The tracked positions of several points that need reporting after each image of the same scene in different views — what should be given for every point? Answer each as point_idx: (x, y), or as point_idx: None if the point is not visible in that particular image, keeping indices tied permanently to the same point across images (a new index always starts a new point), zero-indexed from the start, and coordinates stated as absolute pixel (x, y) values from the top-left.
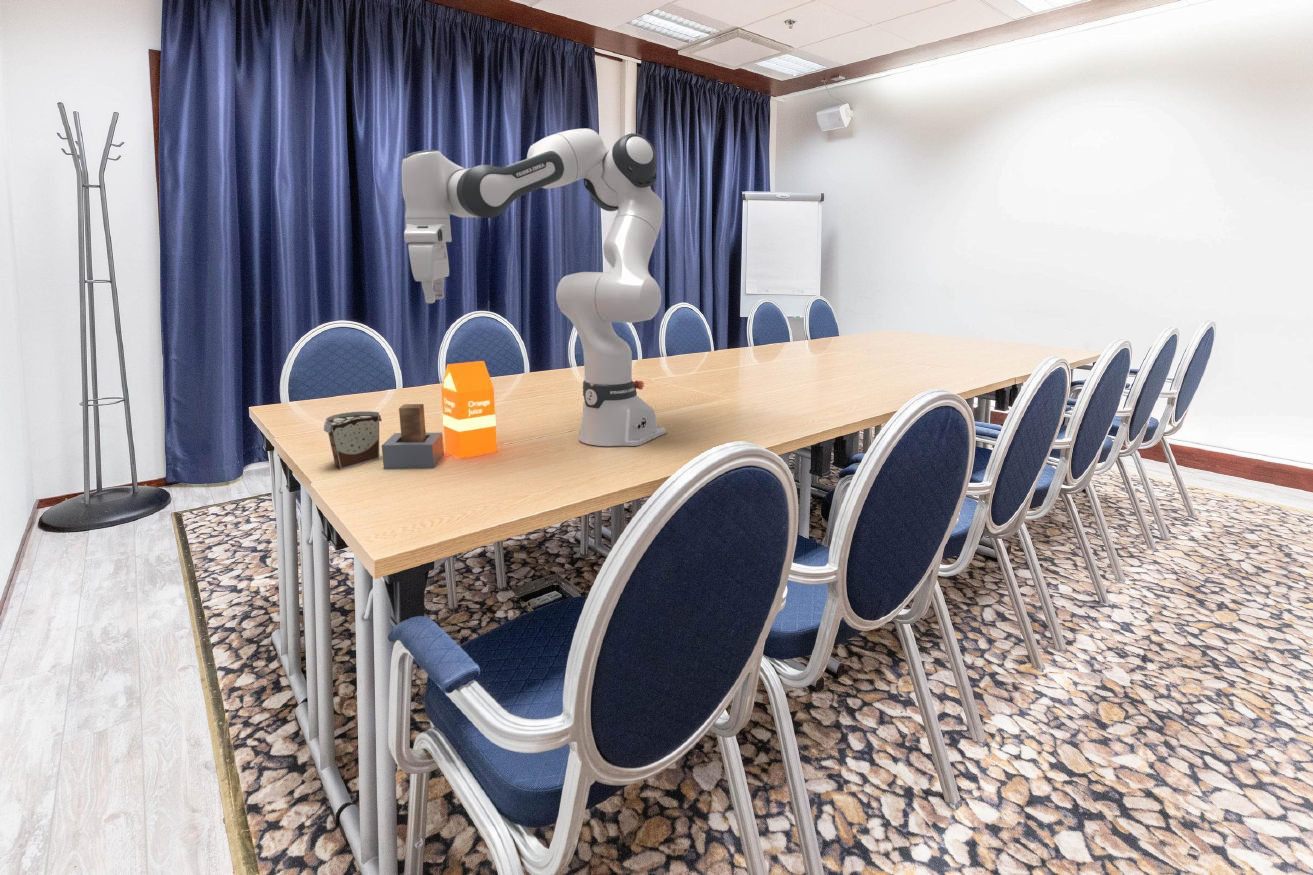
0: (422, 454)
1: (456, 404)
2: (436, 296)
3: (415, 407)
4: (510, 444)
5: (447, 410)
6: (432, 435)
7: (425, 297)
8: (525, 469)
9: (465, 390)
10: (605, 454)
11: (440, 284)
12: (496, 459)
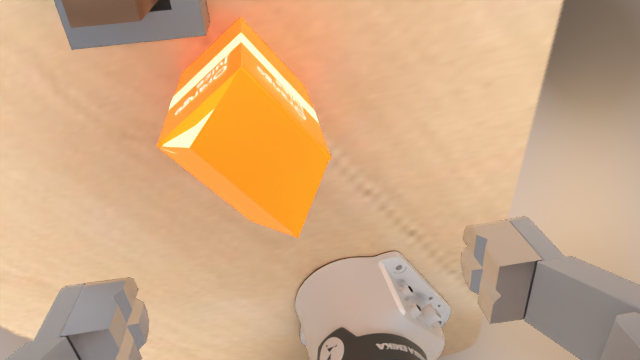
0: None
1: (167, 124)
2: (474, 250)
3: (77, 11)
4: None
5: (213, 70)
6: (168, 18)
7: (46, 322)
8: (131, 215)
9: (182, 166)
10: (250, 307)
11: (598, 347)
12: None
